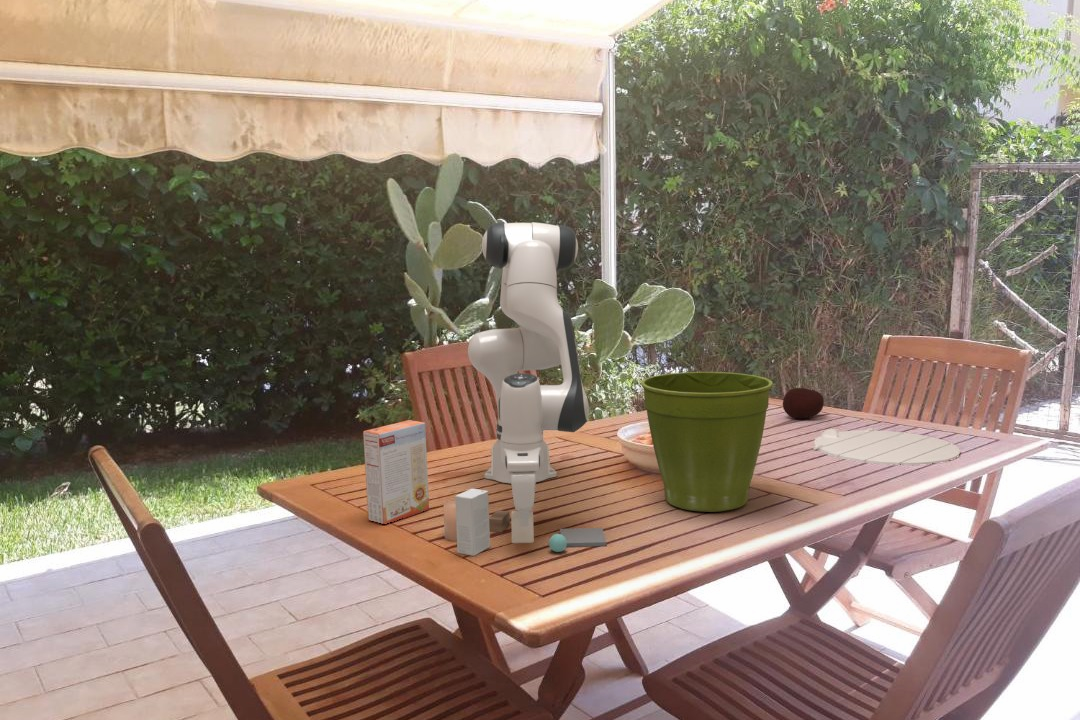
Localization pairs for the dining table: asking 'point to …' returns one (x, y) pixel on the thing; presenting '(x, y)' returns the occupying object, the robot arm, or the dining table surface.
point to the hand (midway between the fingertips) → (523, 518)
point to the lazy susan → (885, 447)
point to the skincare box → (472, 521)
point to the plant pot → (706, 435)
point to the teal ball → (557, 542)
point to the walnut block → (499, 521)
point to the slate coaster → (584, 537)
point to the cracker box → (396, 471)
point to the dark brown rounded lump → (802, 403)
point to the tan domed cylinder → (450, 521)
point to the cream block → (521, 529)
